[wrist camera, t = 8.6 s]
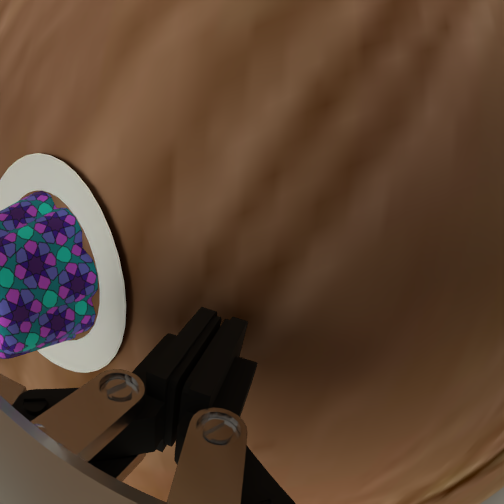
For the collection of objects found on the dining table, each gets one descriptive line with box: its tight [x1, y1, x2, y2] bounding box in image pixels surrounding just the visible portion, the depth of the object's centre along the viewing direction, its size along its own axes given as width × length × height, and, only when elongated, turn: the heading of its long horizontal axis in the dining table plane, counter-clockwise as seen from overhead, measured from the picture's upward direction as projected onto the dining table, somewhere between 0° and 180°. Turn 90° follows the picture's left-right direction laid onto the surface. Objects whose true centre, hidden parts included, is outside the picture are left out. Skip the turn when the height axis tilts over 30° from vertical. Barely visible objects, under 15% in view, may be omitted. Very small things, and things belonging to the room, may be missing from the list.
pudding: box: [0, 153, 126, 373], centre depth 11 cm, size 12×12×5 cm
